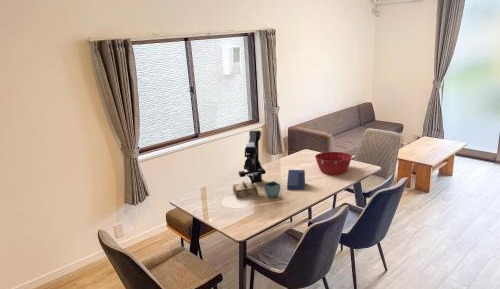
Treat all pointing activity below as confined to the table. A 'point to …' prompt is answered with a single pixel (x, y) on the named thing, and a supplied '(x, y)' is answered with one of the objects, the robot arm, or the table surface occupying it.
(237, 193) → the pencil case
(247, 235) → the table surface
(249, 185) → the lid
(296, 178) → the phone stand
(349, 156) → the mixing bowl
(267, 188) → the flower pot
